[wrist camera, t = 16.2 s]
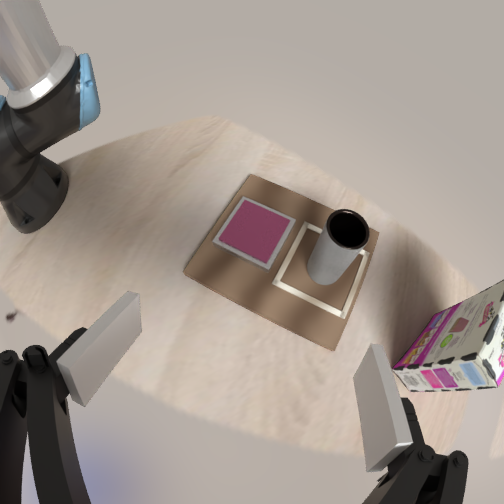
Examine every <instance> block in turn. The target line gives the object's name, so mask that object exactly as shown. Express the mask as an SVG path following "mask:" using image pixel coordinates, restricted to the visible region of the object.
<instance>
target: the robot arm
mask: <svg viewBox="0 0 504 504" xmlns="http://www.w3.org/2000/svg"><path fill="white" fill-rule="evenodd" d="M0 76H1V78H2V79H3V80H4V82H5V83H6V84H7V86H8V87H9V91H8V95H7V100H6V97H4V96H3V95H0V202H1V204H2V206H3V208H4V210H5V212H6V214H7V216H8V218H9V220H10V222H11V224H12V225H13V226H14V227H15V228H16V229H17V230H18V231H20V232H21V233H25V234H27V233H32V232H34V231H36V230H38V229H40V228H41V227H43V226H44V225H45V224H46V223H47V222H48V221H49V220H50V219H51V218H52V217H53V216H54V214H55V213H56V212H57V210H58V209H59V207H60V206H61V204H62V202H63V200H64V198H65V195H66V193H67V189H68V178H67V175H66V174H65V172H64V171H63V169H62V168H61V167H60V166H59V165H57V164H56V163H54V162H52V161H50V160H49V159H47V158H46V157H44V156H43V155H41V154H40V152H42V151H43V150H45V149H47V148H48V147H50V146H52V145H53V144H55V143H57V142H59V141H60V140H62V139H64V138H66V137H68V136H69V135H71V134H73V133H75V132H77V131H80V130H81V129H82V128H83V127H85V126H87V125H88V124H90V123H92V122H93V121H95V120H96V119H97V117H98V116H99V114H100V103H99V98H98V92H97V87H96V82H95V78H94V73H93V68H92V64H91V59H90V57H89V55H88V54H87V53H86V54H80V55H79V56H78V57H77V56H76V53H75V52H74V50H73V48H71V47H69V46H59V44H58V42H57V40H56V37H55V36H54V33H53V31H52V29H51V27H50V24H49V22H48V20H47V18H46V15H45V13H44V11H43V8H42V6H41V3H40V1H39V0H0ZM141 332H142V327H141V313H140V294H138V293H134V292H131V291H127V292H126V293H125V294H124V295H123V296H122V297H121V298H120V299H119V300H118V301H117V302H116V303H115V304H114V305H112V306H111V307H110V308H109V309H108V310H107V311H106V312H105V313H104V314H103V315H102V316H101V317H100V318H99V319H98V320H97V321H96V322H95V323H94V324H93V325H92V326H91V327H90V328H89V329H86V328H84V327H82V328H80V329H77V330H75V331H74V332H73V333H72V334H71V335H70V336H69V337H68V338H66V339H65V340H64V342H63V343H61V344H60V345H59V346H58V347H57V348H56V349H55V350H54V351H53V352H52V353H51V354H50V355H49V356H48V354H47V352H46V350H45V348H44V347H42V346H40V345H33V346H29V347H28V348H26V349H25V350H24V351H23V354H22V357H23V359H24V361H23V360H20V359H19V357H18V355H17V353H16V352H15V351H13V350H6V351H3V352H2V353H0V504H21V491H22V472H23V462H24V452H25V445H26V438H27V432H28V437H29V447H30V456H31V463H32V470H33V476H34V481H35V486H36V490H37V495H38V499H39V503H40V504H91V502H90V499H89V496H88V493H87V490H86V486H85V483H84V480H83V476H82V473H81V469H80V465H79V461H78V457H77V453H76V449H75V444H74V439H73V434H72V428H71V423H70V416H69V409H68V402H67V399H66V397H67V396H68V394H69V393H70V395H71V398H72V400H73V401H75V402H76V403H78V404H80V405H82V406H84V407H85V406H86V405H87V404H88V402H89V401H90V400H91V398H92V397H93V395H94V394H95V393H96V391H97V390H98V388H99V387H100V386H101V384H102V383H103V382H104V381H105V379H106V378H107V377H108V375H109V374H110V373H111V371H112V370H113V369H114V367H115V366H116V365H117V363H118V362H119V361H120V359H121V358H122V357H123V355H124V354H125V353H126V352H127V350H128V349H129V348H130V346H131V345H132V344H133V342H134V341H135V340H136V339H137V337H138V336H139V335H140V333H141ZM353 380H354V386H355V391H356V397H357V403H358V410H359V416H360V423H361V430H362V437H363V445H364V453H365V462H366V471H367V472H378V471H382V470H383V469H384V468H385V467H386V466H388V472H387V473H386V474H385V475H383V476H382V477H381V478H380V479H378V482H379V481H380V480H381V481H380V482H379V484H378V485H377V486H376V487H375V489H374V490H373V491H372V492H371V494H370V495H369V496H368V497H367V499H366V500H365V501H364V502H363V503H362V504H462V502H463V497H464V492H465V486H466V479H467V472H468V458H467V456H466V454H464V453H463V452H462V451H457V450H456V451H454V452H452V453H451V454H450V455H449V456H445V455H440V454H436V453H435V451H434V450H433V448H431V447H430V446H428V445H426V444H425V442H424V439H423V435H422V432H421V429H420V425H419V422H418V421H417V420H418V419H417V416H416V415H415V414H416V412H415V409H414V406H413V404H412V403H411V402H410V400H409V399H408V398H400V394H399V391H398V388H397V385H396V382H395V379H394V376H393V373H392V370H391V367H390V364H389V361H388V358H387V356H386V353H385V350H384V347H383V345H378V344H370V346H369V348H368V350H367V352H366V354H365V356H364V358H363V360H362V362H361V364H360V366H359V368H358V370H357V371H356V373H355V375H354V377H353Z"/></svg>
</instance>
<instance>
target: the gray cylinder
mask: <svg viewBox="0 0 504 504" xmlns="http://www.w3.org/2000/svg"><path fill="white" fill-rule="evenodd" d="M369 236H370V231H369V227H368V224H367V222H366V221H365V220H364V218H363V217H362V216H361V215H359V214H358V213H356V212H354V211H352V210H348V209H340V210H336V211H334V212H333V213H331V214H330V215H329V217H328V219H327V221H326V223H325V225H324V227H323V230H322V232H321V234H320V236H319V239H318V241H317V243H316V245H315V247H314V249H313V252H312V254H311V256H310V258H309V260H308V264H307V271H308V274H309V276H310V277H311V279H312V280H313V281H315V282H316V283H318V284H321V285H330V284H332V283H334V282H336V281H337V280H338V279H339V277H340V276H341V275H342V274H343V273H344V271H345V270H346V269H347V268H348V267H349V265H350V264H351V263H352V262H353V260H354V259H355V258H356V257H357V255H358V254H359V253H360V252H361V250H362V249H363V248H364V246H365V245H366V244H367V242H368V240H369Z"/></svg>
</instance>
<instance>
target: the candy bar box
mask: <svg viewBox="0 0 504 504" xmlns="http://www.w3.org/2000/svg"><path fill="white" fill-rule="evenodd" d="M392 370H393V372H394V373H395V374H396V375H397V376H398V377H399V378H400V380H401V381H402V382H403V384H404V385H405V386H406V388H407V389H408V390H409V391H410V392H435V391H438V392H441V391H463V390H477V389H487V388H496V387H497V388H498V387H499V385H500V384H501V381H502V379H503V377H504V280H502V281H500V282H499V283H497V284H495V285H493V286H491V287H489V288H487V289H486V290H484V291H482V292H480V293H478V294H476V295H474V296H472V297H470V298H468V299H466V300H464V301H462V302H460V303H458V304H456V305H454V306H452V307H450V308H448V309H445V310H443V311H441V312H439V313H437V314H435V315H434V316H433V318H432V319H431V321H430V322H429V323H428V325H427V326H426V328H425V329H424V330H423V332H422V333H421V334H420V336H419V337H418V338H417V340H416V341H415V342H414V343H413V345H412V346H411V347H410V348H409V350H408V351H407V352H406V353H405V355H404V356H403V357H402V358H401V359H400V361H399V362H398V363H397V364H396V365H395V366H394V367H393V369H392Z"/></svg>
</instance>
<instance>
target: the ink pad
mask: <svg viewBox="0 0 504 504" xmlns="http://www.w3.org/2000/svg"><path fill="white" fill-rule="evenodd" d="M295 223H296V219H293V218H291V217H289V216H287V215H285V214H283V213H280V212H278V211H276V210H274V209H271V208H269V207H267V206H265V205H262V204H260V203H258V202H256V201H253V200H251V199H249V198H246V197H244V196H243V197H242V199H241V200H240V201H239V203H238V204H237V206H236V207H235V209H234V210H233V212H232V213H231V214H230V216H229V217H228V219H227V220H226V222H225V223H224V225H223V226H222V228H221V229H220V231H219V232H218V234H217V235H216V237H215V238H214V239H213V241H212V243H213V246H215V247H217V248H219V249H221V250H223V251H225V252H227V253H229V254H231V255H233V256H235V257H237V258H239V259H241V260H243V261H245V262H247V263H249V264H251V265H253V266H255V267H257V268H259V269H261V270H263V271H265V272H267V273H269V271H270V269H271V268H272V266H273V264H274V262H275V260H276V258H277V257H278V255H279V253H280V251H281V249H282V248H283V246H284V244H285V242H286V240H287V238H288V236H289V235H290V233H291V231H292V229H293V227H294V225H295Z"/></svg>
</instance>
